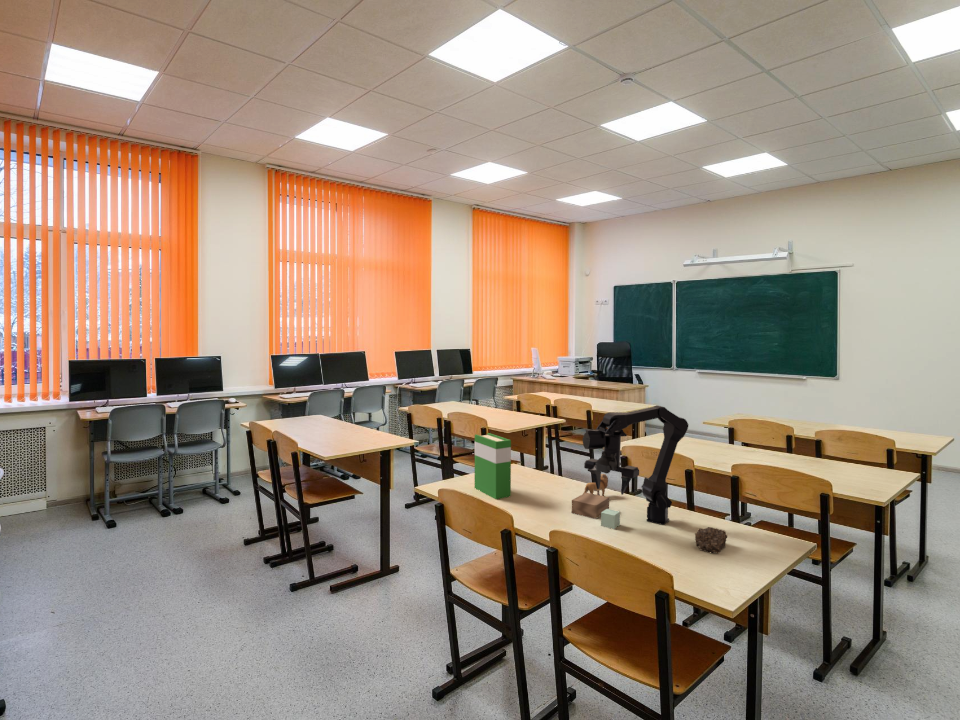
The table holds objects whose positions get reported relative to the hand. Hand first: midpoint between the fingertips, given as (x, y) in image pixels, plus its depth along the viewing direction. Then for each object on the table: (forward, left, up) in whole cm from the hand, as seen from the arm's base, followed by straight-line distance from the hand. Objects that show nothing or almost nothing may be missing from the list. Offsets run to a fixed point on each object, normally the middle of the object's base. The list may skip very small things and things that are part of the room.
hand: (610, 491), depth 187 cm
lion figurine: (+18, -26, -13) cm, 34 cm away
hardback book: (+56, -5, -13) cm, 58 cm away
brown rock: (-33, -2, -13) cm, 36 cm away
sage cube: (0, 0, -12) cm, 12 cm away
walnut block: (+12, -9, -12) cm, 19 cm away
